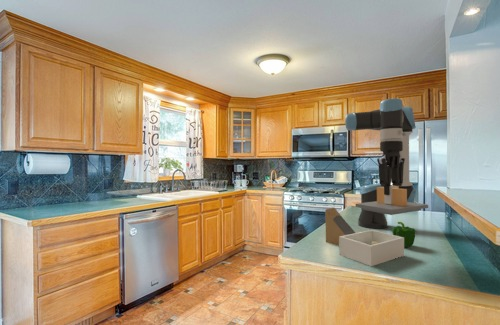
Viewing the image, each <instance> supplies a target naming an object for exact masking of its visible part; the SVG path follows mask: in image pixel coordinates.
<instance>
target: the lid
mask: <svg viewBox="0 0 500 325" xmlns="http://www.w3.org/2000/svg"><path fill="white" fill-rule="evenodd" d="M355 207H356V208H362V210H366V211H372V212H377V213H383V214H385V215H389V216H393V215H400V214H406V213H412V212H419V211H421V210H422V209H423V210H424V209H428V208H429V204H426V203H419V202H417V203H416V202H414V203H412V202H407V189H399V188H392V204H385V203H384V187H377V201H375V202H366V203H361V202H360V203H355Z"/></svg>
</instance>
